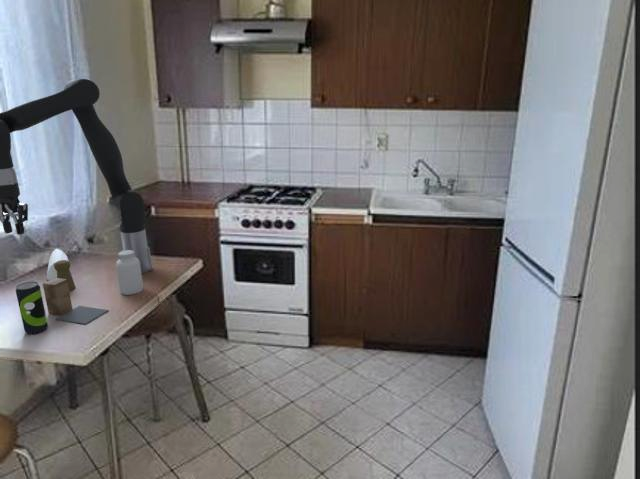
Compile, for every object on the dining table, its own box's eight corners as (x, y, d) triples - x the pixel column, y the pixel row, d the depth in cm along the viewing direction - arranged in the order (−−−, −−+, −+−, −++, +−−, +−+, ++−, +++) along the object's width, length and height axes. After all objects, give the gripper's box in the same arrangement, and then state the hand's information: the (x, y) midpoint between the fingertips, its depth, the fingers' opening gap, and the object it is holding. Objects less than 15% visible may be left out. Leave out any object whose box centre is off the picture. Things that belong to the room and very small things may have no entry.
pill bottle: (121, 297, 168) (115, 257, 164) (119, 289, 175) (113, 250, 170) (144, 292, 171) (139, 253, 167) (141, 285, 178) (136, 247, 174)
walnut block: (48, 314, 156) (41, 283, 153) (60, 307, 160) (54, 277, 157) (60, 316, 154) (54, 284, 151) (72, 309, 159) (67, 279, 156)
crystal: (71, 269, 185) (72, 252, 206) (52, 263, 182) (54, 246, 202) (64, 286, 186) (65, 267, 206) (44, 280, 182) (47, 262, 203)
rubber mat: (55, 319, 152) (55, 318, 152) (79, 306, 161) (79, 305, 161) (85, 324, 148) (85, 323, 148) (108, 311, 157) (108, 310, 157)
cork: (68, 292, 173) (62, 264, 169) (53, 291, 174) (48, 263, 171) (79, 286, 178) (74, 258, 175) (65, 285, 179) (60, 257, 176)
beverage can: (34, 325, 148) (24, 280, 144) (52, 325, 148) (43, 281, 143) (20, 334, 142) (9, 288, 138) (39, 335, 142) (29, 289, 137)
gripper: (-24, 183, 150) (-12, 235, 155) (10, 185, 146) (21, 238, 151) (-2, 179, 157) (9, 228, 162) (31, 181, 153) (41, 232, 158)
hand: (14, 233), depth 157 cm, fingers open, 4 cm apart
